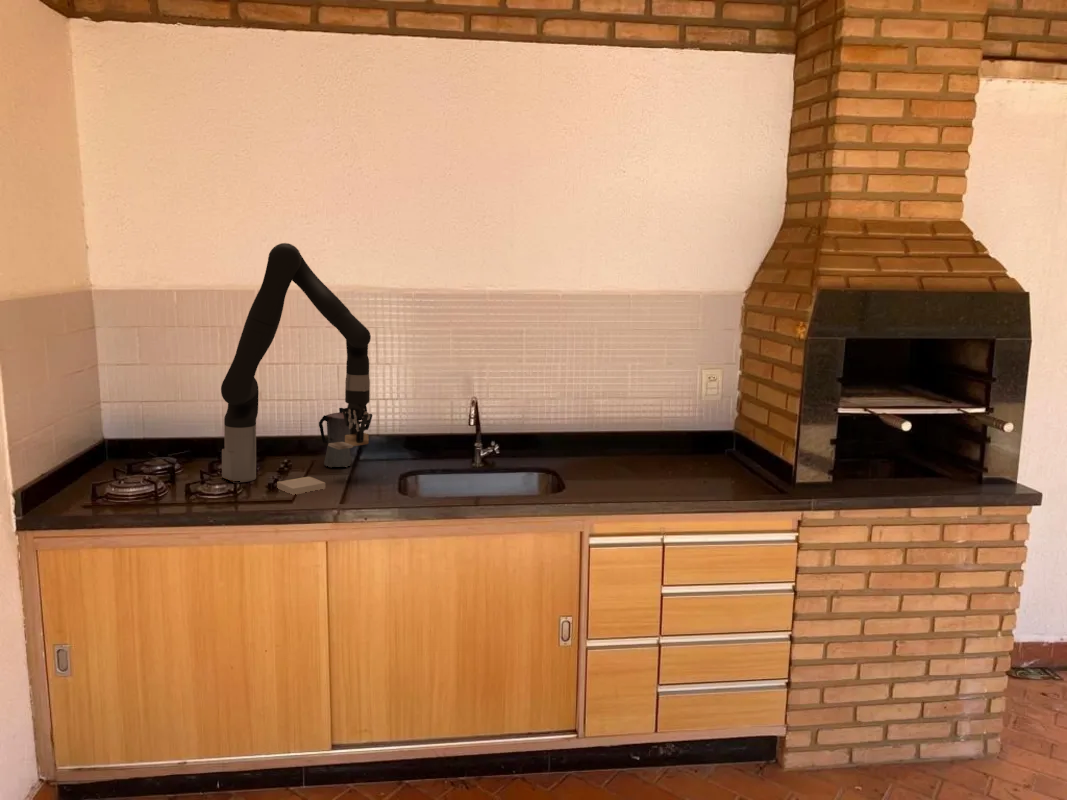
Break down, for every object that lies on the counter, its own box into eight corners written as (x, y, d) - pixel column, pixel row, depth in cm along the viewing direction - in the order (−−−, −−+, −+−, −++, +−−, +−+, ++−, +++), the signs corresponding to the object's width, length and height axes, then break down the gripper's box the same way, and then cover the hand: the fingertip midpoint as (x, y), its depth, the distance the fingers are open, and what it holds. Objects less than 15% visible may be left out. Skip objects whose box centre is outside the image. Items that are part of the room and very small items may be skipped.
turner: (360, 441, 262) (360, 431, 262) (371, 444, 258) (371, 435, 258) (328, 445, 254) (328, 435, 253) (338, 449, 250) (339, 439, 249)
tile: (325, 490, 247) (292, 496, 239) (309, 484, 253) (277, 489, 245) (325, 482, 246) (292, 488, 238) (309, 476, 252) (277, 481, 244)
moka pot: (363, 464, 278) (364, 407, 275) (330, 472, 265) (331, 413, 262) (343, 459, 283) (344, 403, 280) (309, 467, 270) (310, 409, 267)
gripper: (334, 385, 257) (334, 439, 260) (360, 392, 248) (359, 447, 250) (354, 384, 262) (354, 436, 265) (380, 390, 253) (379, 444, 256)
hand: (356, 441), depth 258 cm, fingers closed on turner, 2 cm apart
